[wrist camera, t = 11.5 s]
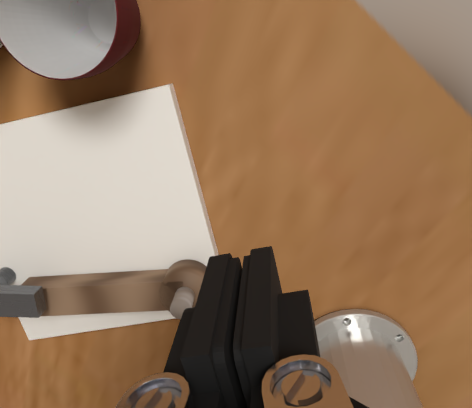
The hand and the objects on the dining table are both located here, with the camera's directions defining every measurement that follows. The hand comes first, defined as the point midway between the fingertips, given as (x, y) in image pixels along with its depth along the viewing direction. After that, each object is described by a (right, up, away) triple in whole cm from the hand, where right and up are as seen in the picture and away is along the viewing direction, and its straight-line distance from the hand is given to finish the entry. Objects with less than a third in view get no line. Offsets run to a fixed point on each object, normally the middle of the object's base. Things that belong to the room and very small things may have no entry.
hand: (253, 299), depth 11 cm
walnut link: (-12, -5, +30) cm, 33 cm away
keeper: (-21, -5, +31) cm, 38 cm away
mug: (-10, +19, +23) cm, 31 cm away
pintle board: (-14, +1, +30) cm, 33 cm away
